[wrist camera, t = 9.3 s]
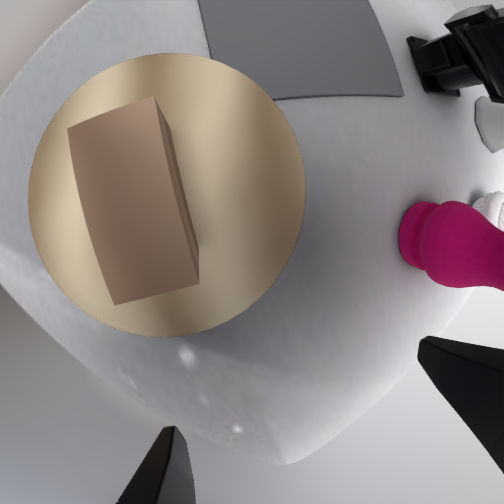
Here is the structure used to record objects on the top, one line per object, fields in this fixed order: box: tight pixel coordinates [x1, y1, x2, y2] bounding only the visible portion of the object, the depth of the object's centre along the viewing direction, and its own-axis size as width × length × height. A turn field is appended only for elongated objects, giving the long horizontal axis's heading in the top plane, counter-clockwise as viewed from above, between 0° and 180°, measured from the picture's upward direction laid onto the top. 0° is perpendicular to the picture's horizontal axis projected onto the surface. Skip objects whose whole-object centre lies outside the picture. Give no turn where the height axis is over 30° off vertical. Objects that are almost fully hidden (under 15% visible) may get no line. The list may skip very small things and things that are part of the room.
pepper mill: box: [399, 201, 504, 291], centre depth 13 cm, size 7×7×20 cm
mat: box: [198, 0, 404, 100], centre depth 16 cm, size 16×16×1 cm
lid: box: [28, 53, 306, 337], centre depth 10 cm, size 15×15×6 cm
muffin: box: [472, 191, 504, 231], centre depth 21 cm, size 6×6×7 cm
